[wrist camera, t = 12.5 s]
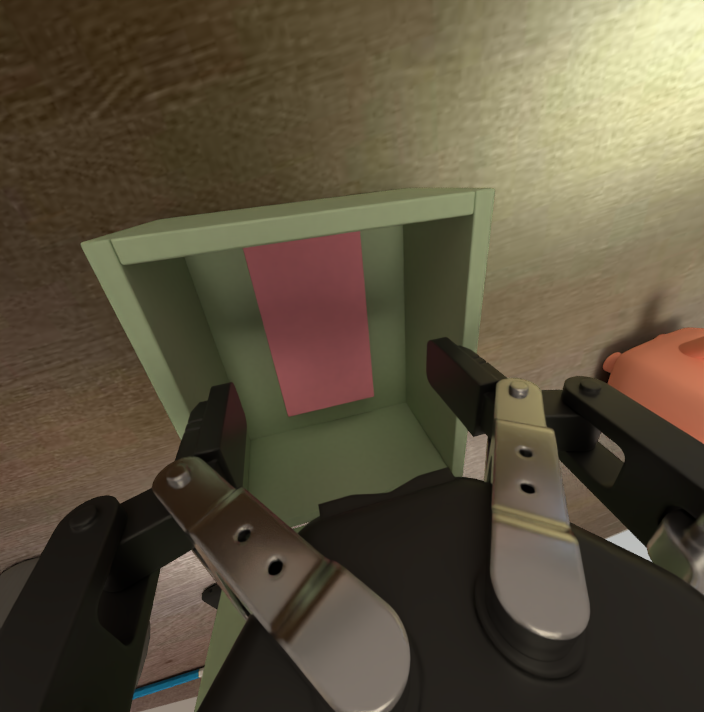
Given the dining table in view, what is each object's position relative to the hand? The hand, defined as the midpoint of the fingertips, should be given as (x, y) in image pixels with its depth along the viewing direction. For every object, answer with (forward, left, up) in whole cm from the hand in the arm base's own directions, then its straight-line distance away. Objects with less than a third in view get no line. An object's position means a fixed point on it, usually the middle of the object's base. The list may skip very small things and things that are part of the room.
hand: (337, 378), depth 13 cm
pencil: (+42, -28, -8) cm, 51 cm away
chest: (+2, 0, -8) cm, 8 cm away
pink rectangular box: (0, 0, -7) cm, 7 cm away
